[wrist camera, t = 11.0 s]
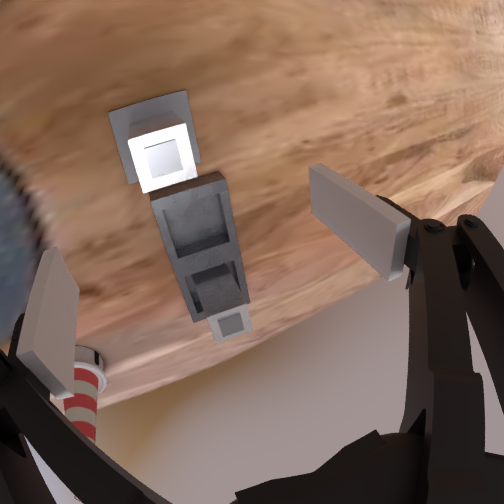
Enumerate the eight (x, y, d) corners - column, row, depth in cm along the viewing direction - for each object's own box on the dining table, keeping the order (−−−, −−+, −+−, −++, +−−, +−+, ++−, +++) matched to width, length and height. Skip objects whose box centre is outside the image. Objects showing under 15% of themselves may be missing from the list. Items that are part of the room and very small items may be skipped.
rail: (149, 192, 37) (150, 201, 35) (218, 171, 39) (225, 178, 37) (189, 309, 49) (193, 322, 47) (243, 290, 51) (250, 302, 48)
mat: (108, 112, 31) (108, 112, 30) (185, 90, 33) (185, 90, 32) (128, 182, 36) (128, 184, 35) (200, 160, 38) (201, 162, 37)
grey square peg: (128, 123, 32) (127, 141, 24) (171, 110, 33) (186, 123, 25) (139, 163, 35) (143, 194, 27) (181, 151, 36) (198, 177, 28)
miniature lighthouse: (117, 365, 50) (147, 533, 26) (81, 384, 50) (99, 540, 26) (80, 336, 44) (93, 525, 21) (45, 358, 44) (47, 529, 20)
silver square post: (189, 269, 45) (207, 319, 37) (223, 258, 46) (247, 304, 38) (198, 295, 48) (216, 345, 39) (229, 285, 49) (253, 332, 40)
